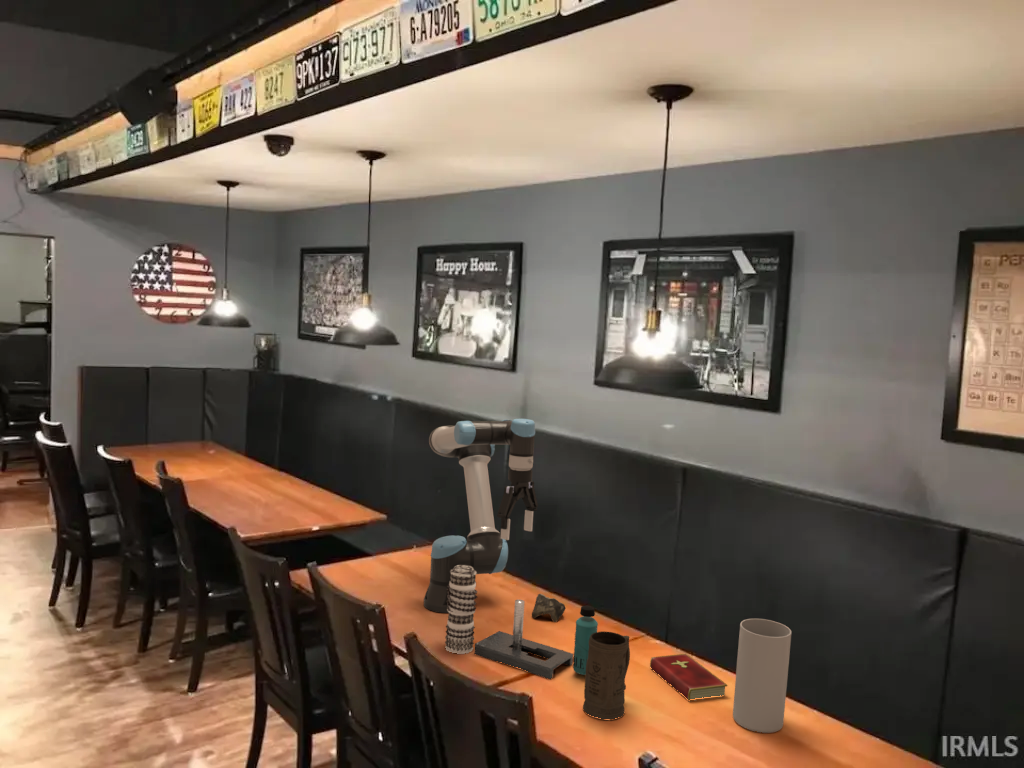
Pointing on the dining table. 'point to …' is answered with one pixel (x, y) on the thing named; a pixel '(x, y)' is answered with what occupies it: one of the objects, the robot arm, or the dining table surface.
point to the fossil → (548, 607)
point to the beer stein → (606, 675)
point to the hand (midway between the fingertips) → (516, 534)
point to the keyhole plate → (522, 654)
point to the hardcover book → (688, 676)
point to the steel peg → (518, 625)
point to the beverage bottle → (583, 638)
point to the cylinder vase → (761, 675)
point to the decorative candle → (461, 609)
